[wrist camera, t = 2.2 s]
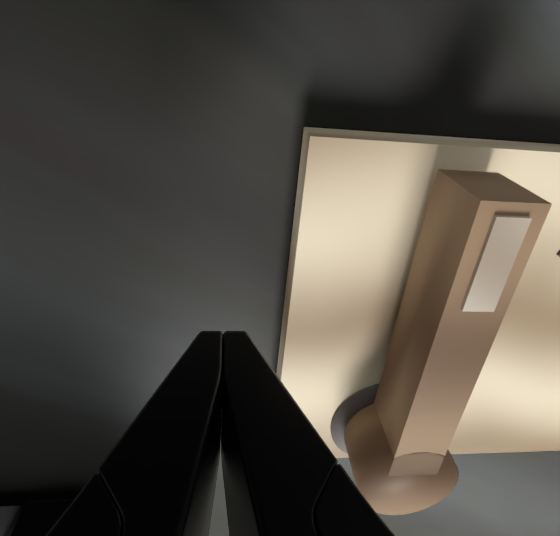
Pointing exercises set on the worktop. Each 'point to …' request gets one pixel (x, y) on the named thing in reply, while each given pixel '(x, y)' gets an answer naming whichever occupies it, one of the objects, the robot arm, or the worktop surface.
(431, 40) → the worktop surface
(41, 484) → the worktop surface
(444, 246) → the walnut lever
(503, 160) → the dial plate
